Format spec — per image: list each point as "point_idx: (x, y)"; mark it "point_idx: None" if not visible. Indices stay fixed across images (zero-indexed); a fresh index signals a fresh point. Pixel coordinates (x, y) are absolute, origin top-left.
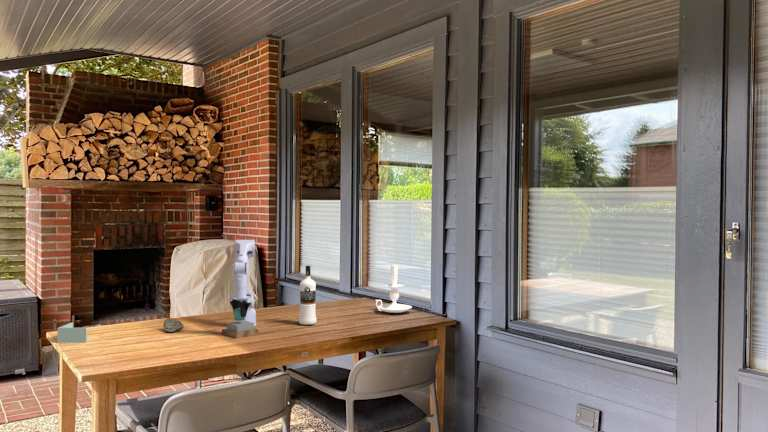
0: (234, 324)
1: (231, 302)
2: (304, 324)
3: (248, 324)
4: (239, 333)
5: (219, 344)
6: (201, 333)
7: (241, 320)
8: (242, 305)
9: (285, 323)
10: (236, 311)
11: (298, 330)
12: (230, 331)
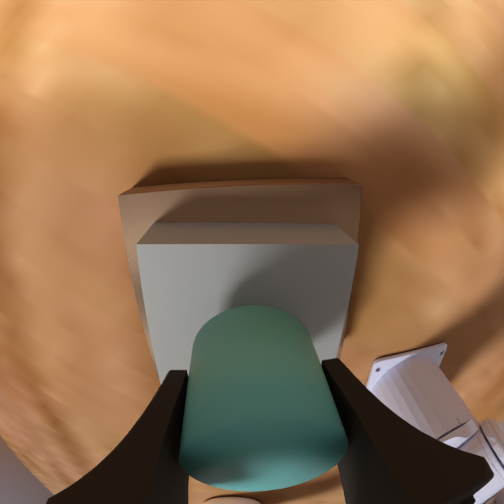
0: (218, 256)
1: (438, 493)
2: (218, 497)
3: (155, 355)
4: (124, 223)
5: (61, 16)
6: (455, 107)
7: (405, 393)
8: (64, 498)
9: None
10: (232, 398)
11: None
12: (223, 191)
